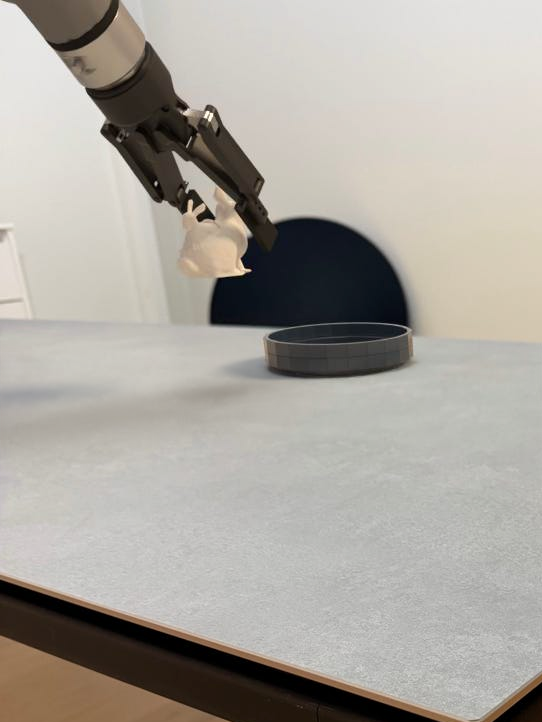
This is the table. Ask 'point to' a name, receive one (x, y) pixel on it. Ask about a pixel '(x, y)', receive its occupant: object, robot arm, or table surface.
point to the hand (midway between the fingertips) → (245, 241)
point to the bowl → (338, 348)
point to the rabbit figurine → (213, 241)
